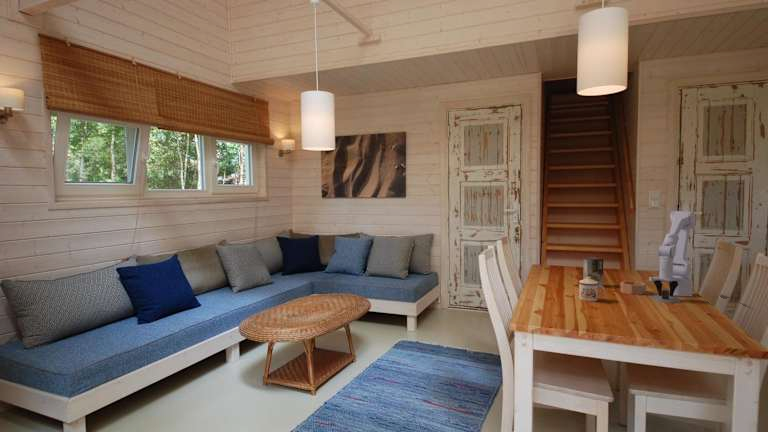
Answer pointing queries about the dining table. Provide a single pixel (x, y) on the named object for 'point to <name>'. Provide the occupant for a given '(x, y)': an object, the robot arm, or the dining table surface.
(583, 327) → the dining table surface
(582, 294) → the teacup with lid
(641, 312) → the dining table surface
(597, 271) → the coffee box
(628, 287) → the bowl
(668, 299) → the lid
